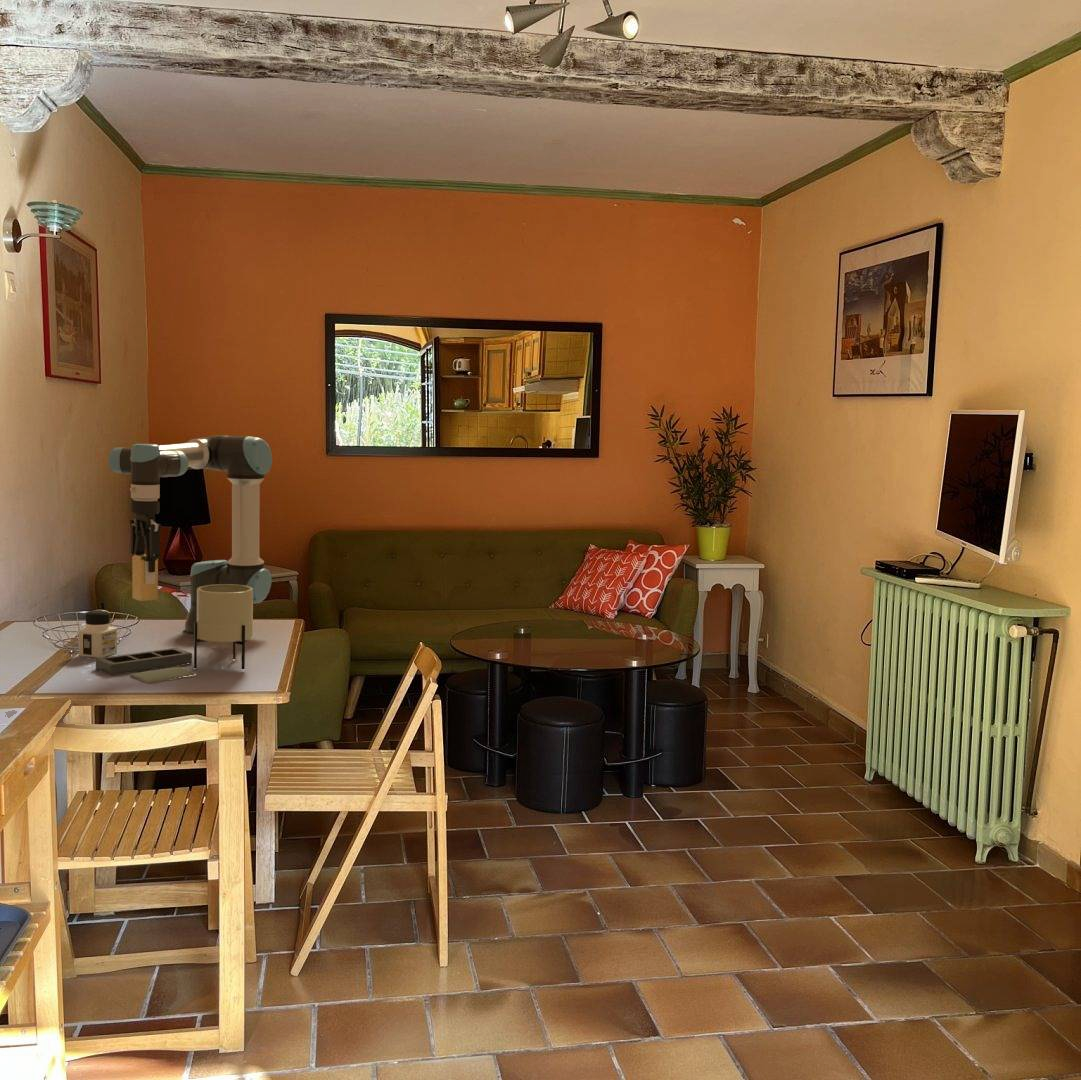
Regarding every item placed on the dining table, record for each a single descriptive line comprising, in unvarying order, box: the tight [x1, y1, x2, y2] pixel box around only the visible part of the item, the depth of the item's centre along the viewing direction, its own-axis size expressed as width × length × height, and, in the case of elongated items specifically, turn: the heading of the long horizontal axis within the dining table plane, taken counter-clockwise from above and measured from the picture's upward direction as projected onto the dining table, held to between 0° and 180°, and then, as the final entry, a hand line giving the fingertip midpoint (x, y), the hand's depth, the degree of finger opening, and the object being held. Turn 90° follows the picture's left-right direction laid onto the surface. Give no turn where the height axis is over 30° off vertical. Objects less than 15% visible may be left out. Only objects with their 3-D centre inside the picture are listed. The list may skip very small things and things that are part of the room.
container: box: [78, 609, 118, 659], centre depth 310 cm, size 8×8×13 cm
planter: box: [193, 584, 254, 670], centre depth 301 cm, size 15×16×23 cm
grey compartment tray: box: [95, 647, 193, 677], centre depth 299 cm, size 24×9×3 cm, turn 137°
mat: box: [130, 666, 197, 684], centre depth 289 cm, size 14×10×1 cm
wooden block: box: [131, 553, 159, 602], centre depth 296 cm, size 5×5×12 cm
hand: (145, 581), depth 296 cm, fingers closed on wooden block, 5 cm apart
